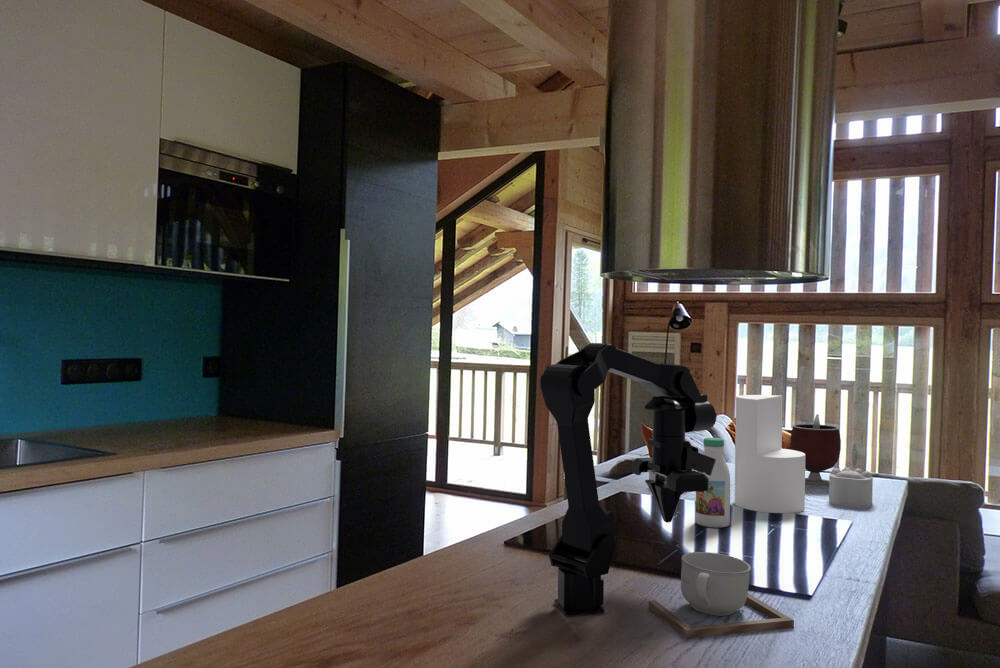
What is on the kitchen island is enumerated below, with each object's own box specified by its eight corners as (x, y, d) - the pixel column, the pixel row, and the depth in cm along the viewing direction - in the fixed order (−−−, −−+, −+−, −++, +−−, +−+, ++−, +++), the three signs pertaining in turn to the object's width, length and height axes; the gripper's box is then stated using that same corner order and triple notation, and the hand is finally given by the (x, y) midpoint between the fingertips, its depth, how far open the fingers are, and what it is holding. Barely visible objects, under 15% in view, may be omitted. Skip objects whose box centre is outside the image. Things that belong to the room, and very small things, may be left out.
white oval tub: (826, 504, 206) (827, 471, 206) (832, 495, 217) (833, 464, 217) (870, 508, 201) (870, 475, 200) (874, 499, 212) (874, 467, 212)
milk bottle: (706, 518, 187) (707, 435, 187) (736, 524, 182) (737, 438, 182) (689, 524, 182) (690, 438, 182) (718, 530, 177) (720, 441, 176)
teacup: (699, 593, 134) (700, 546, 134) (761, 608, 127) (761, 559, 127) (658, 615, 123) (659, 564, 123) (723, 633, 116) (724, 579, 116)
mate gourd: (839, 490, 223) (840, 420, 223) (787, 485, 229) (788, 417, 229) (841, 481, 237) (842, 415, 237) (792, 477, 243) (793, 412, 243)
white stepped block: (723, 505, 202) (724, 397, 202) (749, 495, 215) (751, 393, 215) (790, 516, 191) (792, 401, 191) (814, 504, 204) (815, 397, 204)
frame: (686, 638, 114) (686, 630, 114) (648, 608, 126) (648, 600, 126) (793, 627, 119) (794, 620, 119) (746, 599, 131) (747, 592, 131)
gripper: (737, 440, 132) (736, 532, 133) (684, 427, 151) (683, 508, 151) (677, 442, 130) (676, 536, 130) (630, 428, 148) (629, 510, 148)
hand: (667, 521), depth 140 cm, fingers closed
